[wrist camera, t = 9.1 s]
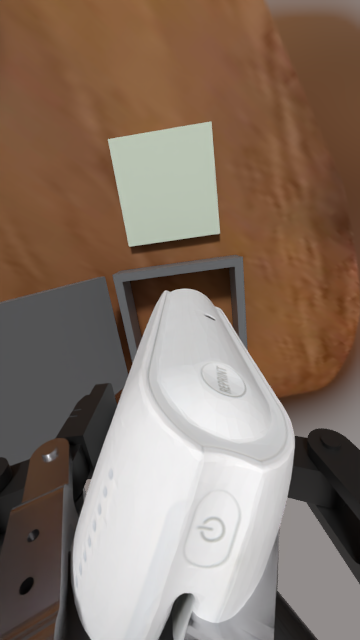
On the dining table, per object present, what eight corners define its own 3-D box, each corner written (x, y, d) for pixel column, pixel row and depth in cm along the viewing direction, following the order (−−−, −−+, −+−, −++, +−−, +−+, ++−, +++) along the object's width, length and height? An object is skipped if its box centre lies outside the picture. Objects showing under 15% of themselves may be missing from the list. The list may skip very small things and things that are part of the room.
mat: (130, 246, 32) (129, 246, 31) (110, 141, 28) (107, 139, 27) (219, 233, 31) (219, 233, 31) (210, 124, 27) (211, 121, 27)
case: (140, 365, 38) (136, 379, 34) (120, 270, 33) (112, 274, 29) (241, 353, 37) (248, 366, 33) (235, 254, 32) (242, 256, 28)
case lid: (129, 382, 33) (121, 380, 34) (104, 276, 29) (95, 277, 29) (6, 483, 21) (-2, 475, 22) (-76, 323, 16) (-82, 321, 17)
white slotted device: (161, 275, 14) (71, 467, 2) (228, 298, 14) (440, 554, 3) (119, 411, 17) (-9, 782, 5) (176, 426, 18) (169, 798, 6)
